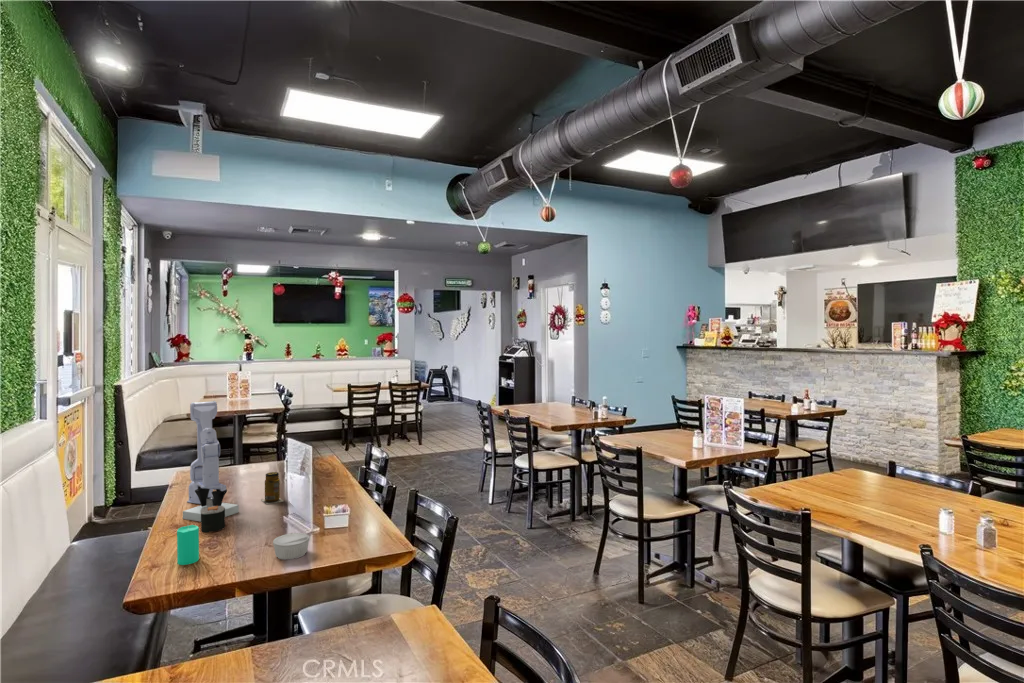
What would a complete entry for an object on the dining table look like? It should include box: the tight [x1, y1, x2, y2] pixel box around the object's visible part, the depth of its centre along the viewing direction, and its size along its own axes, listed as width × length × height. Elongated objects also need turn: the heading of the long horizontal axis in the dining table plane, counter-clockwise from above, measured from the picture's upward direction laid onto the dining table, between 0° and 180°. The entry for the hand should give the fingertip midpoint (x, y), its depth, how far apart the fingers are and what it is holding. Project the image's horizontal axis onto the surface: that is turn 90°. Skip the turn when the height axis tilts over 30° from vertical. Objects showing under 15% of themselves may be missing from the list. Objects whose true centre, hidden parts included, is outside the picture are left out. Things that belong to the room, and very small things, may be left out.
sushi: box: [200, 506, 226, 534], centre depth 206 cm, size 8×8×8 cm
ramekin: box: [272, 532, 310, 561], centre depth 181 cm, size 11×11×5 cm
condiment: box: [261, 471, 284, 505], centre depth 241 cm, size 7×8×12 cm
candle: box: [176, 524, 200, 566], centre depth 176 cm, size 6×6×12 cm
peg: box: [206, 496, 215, 508], centre depth 222 cm, size 4×4×7 cm
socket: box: [182, 502, 240, 523], centre depth 221 cm, size 14×14×3 cm
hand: (211, 506), depth 221 cm, fingers open, 7 cm apart
